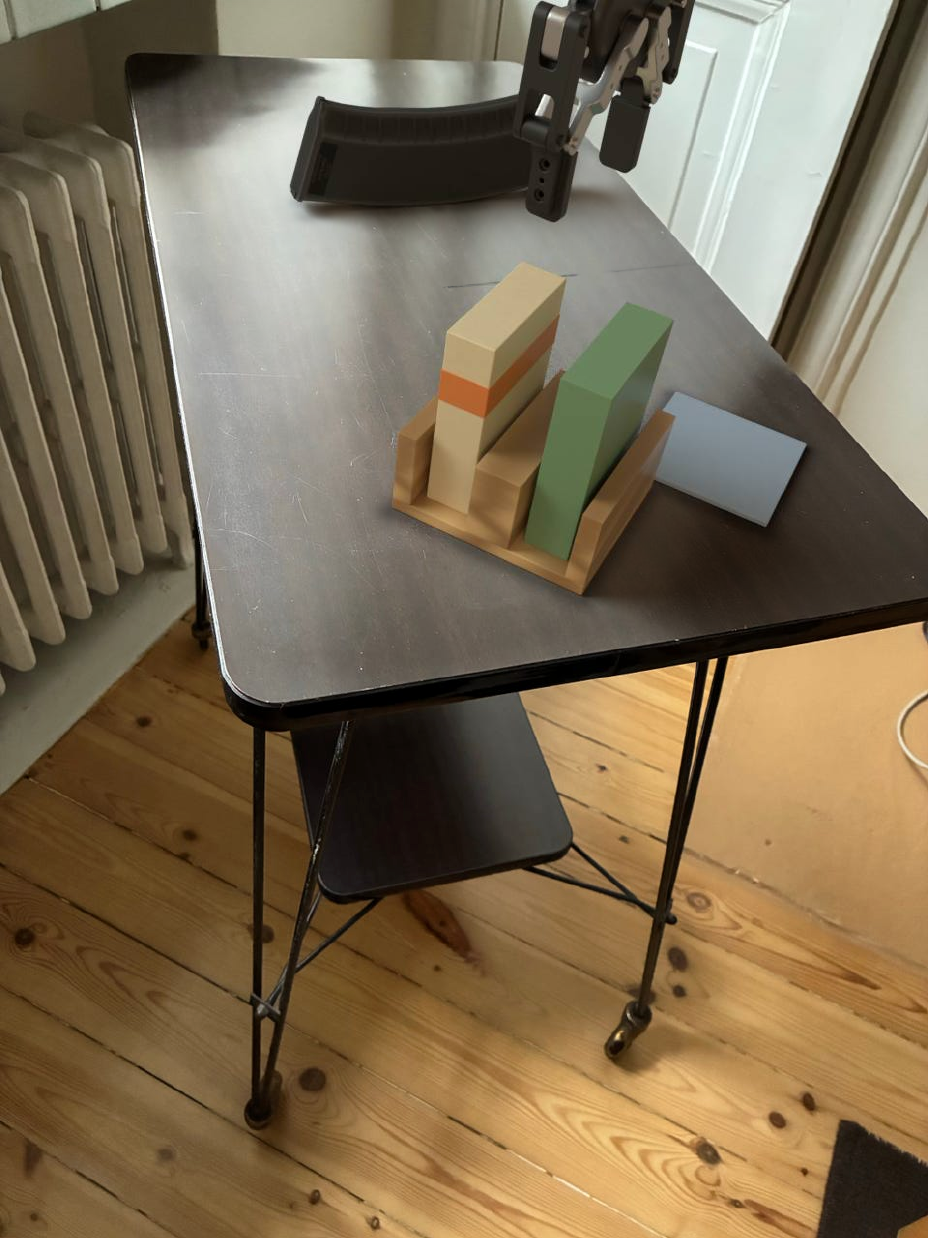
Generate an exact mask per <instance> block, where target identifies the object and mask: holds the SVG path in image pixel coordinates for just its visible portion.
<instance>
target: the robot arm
mask: <svg viewBox="0 0 928 1238" xmlns="http://www.w3.org/2000/svg"><path fill="white" fill-rule="evenodd" d="M695 3H696V0H568V1H567V5H564V6H559V5H557V4H554V3H550V2H548V1H545V0H540V1H538V2H537V4H536V6H535V7H534V10H533V13H532V16H531V22H530V27H529V33H528V39H527V45H526V50H525V56H524V60H523V61H524V62H523V66H522V71H521V72H522V73H521V78H520V84H519V90H518V92H519V94H518V93H517V94H518V100H517V106H516V111H515V117H514V123H513V129H512V132H513V135H514V136H515V137H517V138H520V139H522V140H525V141H527V142H530V143H532V144H534V146H535V147H534V153H533V159H532V165H531V170H530V176H529V182H528V188H526V189H527V190H526V195H525V200H524V205H525V209H526V211H527V212H528V213H529V214H531V215H533V216H536V217H539V218H541V219H543V220H545V221H546V222H547V221H548V222H550V223H557V222H558V221H560V220H562V219H563V218H564V217H565V216H566V214H567V211H568V205H569V201H570V198H571V197H570V196H571V191H572V187H573V182H574V176H575V172H576V166H577V161H578V157H579V148H580V146H581V144H582V142H583V140H584V137H585V135H586V133H587V131H588V128H589V126H590V124H591V122H592V119H593V118H594V116H597V115H600V114H603V113H605V112H606V111H607V109H608V112H607V116H606V121H605V126H604V131H603V135H602V139H601V144H600V149H599V152H598V153H599V154H598V159H599V162H600V164H602V166H604V167H607V168H609V169H612V170H615V171H617V172H619V173H622V174H628V173H630V172H631V171H633V170H634V169H635V168H636V167H637V165H638V162H639V157H640V153H641V149H642V147H643V146H642V145H643V142H644V137H645V133H646V129H647V125H648V122H649V117H650V113H651V109H652V106H654V105H656V104H657V102H658V101H659V99H660V98H661V96H662V92H663V88H664V87H663V86H664V84H666V85H672V84H673V83H674V82H675V81H676V79H677V77H678V75H679V70H680V66H681V61H682V57H683V53H684V49H685V45H686V41H687V36H688V33H689V28H690V24H691V20H692V15H693V10H694V8H695ZM580 80H582V82H581V81H580ZM583 81H585V82H588V83H590V84H587V83H584V82H583ZM539 92H540V93H543V94H544V96H543V98H542V100H541V102H540V105H539V107H538V109H537V111H536V113H535V110H536V105H537V100H538V94H539ZM615 92H617V93H620V94H615ZM614 94H615V95H614ZM574 105H575V106H577V108H576V110H575V112H574V113H573V110H574ZM650 105H652V106H650ZM608 107H609V108H608ZM572 114H573V115H572Z"/></svg>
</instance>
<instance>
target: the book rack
mask: <svg viewBox="0 0 928 1238" xmlns="http://www.w3.org/2000/svg"><path fill="white" fill-rule="evenodd" d="M566 372H567V370H564V369H562V368H561V369H559V370H558V371H557V372H556V373H555V375H554V376H553V377H552V378H551V380H550V381H548V383H547V384H545V385H544V387H543V390H542V391H541V392H540V393H539V394H538V395H537V397H536V398H535V399H534V400H533V401H532V402H531V403H530V405H529V406H528V407H527V408H526V409H525V410H524V411H523V413H522V414H521V415H520V416H519V417H518V418H517V419H516V421H515V422H514V423H513V424H512V425H511V426H510V427H509V429H508V430H507V431H506V432H505V433H504V434H503V435H502V437H501V438H500V439H499V440H498V441H497V442H496V443H495V445H494V446H493V447H492V448H491V449H490V450H489V451H488V453H487V454H486V455H485V456H484V457H483V458H482V459H481V461H480V462H479V463H478V464H477V465H476V466H475V471H474V477H473V483H472V489H471V495H470V501H469V507H468V513H467V515H465V514H463V513H461V512H459V511H457V510H455V509H452V508H450V507H448V506H446V505H444V504H442V503H439V502H437V501H435V500H433V499H431V498H428V497H427V491H428V483H429V475H430V466H431V458H432V450H433V442H434V433H435V425H436V417H437V409H438V400H439V399H438V393H437V394H435V396H434V397H433V398H431V400H430V401H429V402H427V404H425V406H423V407H422V408H421V409H420V410H419V411H418V412H417V413H416V414H415V415H414V417H413V418H411V420H409V421H408V422H407V423H406V425H404V426H403V427H402V428H401V429H400V430H399V431H398V433H397V446H396V458H395V470H394V479H393V481H394V482H393V492H392V503H391V508H393V509H394V510H397V511H398V512H401V513H402V514H403V513H404V514H405V515H407V516H410V517H412V518H414V519H416V520H418V521H420V522H422V523H425V524H427V525H429V526H431V527H433V528H435V529H437V530H440V531H441V532H444V533H446V534H448V535H450V536H453V537H455V538H457V539H459V540H461V541H463V542H465V543H468V544H470V545H472V546H474V547H475V548H479V549H480V550H483V551H485V552H487V553H489V554H491V555H493V556H496V557H498V558H500V559H501V560H504V561H505V562H508V563H510V564H512V565H515V566H516V567H519V568H521V569H524V570H526V571H527V572H530V573H531V574H534V575H536V576H538V577H540V578H543V579H545V580H547V581H549V582H551V583H554V584H555V585H557V586H560V587H561V588H564V589H565V590H568V591H570V592H573V593H575V594H576V595H579V596H583V593H584V592H585V590H586V589H587V587H588V586H589V584H590V583H591V581H592V580H593V578H594V577H595V575H596V573H597V572H598V570H599V569H600V567H601V566H602V564H603V563H604V561H605V559H606V558H607V556H608V555H609V553H610V551H611V550H612V549H613V547H614V546H615V544H616V542H618V540H619V538H620V537H621V535H622V533H623V532H624V531H625V529H626V527H627V526H628V524H629V522H630V521H631V519H632V518H633V516H635V514H636V512H637V510H638V509H639V507H640V506H641V504H642V503H643V501H644V500H645V499H646V497H647V495H648V493H649V491H650V490H651V489H652V487H653V484H654V481H655V480H654V478H655V475H656V473H657V470H658V467H659V464H660V461H661V458H662V455H663V452H664V449H665V447H666V444H667V441H668V438H669V435H670V432H671V429H672V426H673V423H674V421H675V418H676V416H674V415H672V414H670V413H667V412H665V411H663V409H660V408H657V409H656V410H655V411H654V413H653V414H652V415H651V417H650V418H649V420H648V421H647V422H646V423H645V425H644V427H643V429H642V430H640V432H639V433H638V436H637V438H636V440H635V441H634V442H633V444H632V445H631V447H630V448H629V450H628V451H627V452H626V454H625V455H624V457H623V458H622V459H621V461H620V462H619V464H618V465H617V467H616V468H615V469H614V471H613V472H612V474H611V475H610V476H609V478H608V479H607V481H606V482H605V484H604V485H603V486H602V488H601V489H600V491H599V492H598V493H597V495H596V496H595V498H594V499H593V500H592V502H591V503H590V505H589V506H588V508H587V509H586V510H585V512H584V513H583V515H582V519H581V522H580V526H579V529H578V533H577V536H576V540H575V543H574V547H573V550H572V554H571V556H570V557H569V559H568V560H567V561H565V560H563V559H561V558H559V557H556V556H554V555H552V554H550V553H548V552H546V551H543V550H541V549H539V548H537V547H535V546H532V545H530V544H528V543H526V542H524V541H523V540H524V536H525V531H526V527H527V523H528V518H529V514H530V510H531V505H532V501H533V497H534V492H535V488H536V483H537V479H538V475H539V470H540V466H541V462H542V457H543V453H544V449H545V444H546V440H547V436H548V431H549V427H550V423H551V418H552V414H553V410H554V405H555V401H556V397H557V392H558V388H559V383H560V379H561V377H562V376H563V375H564V374H565V373H566Z"/></svg>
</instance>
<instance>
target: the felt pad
mask: <svg viewBox="0 0 928 1238" xmlns="http://www.w3.org/2000/svg"><path fill="white" fill-rule="evenodd" d="M662 411H665V412H667V413H670V414H672V415H674V416H676V418H675V421H674V423H673V426H672V429H671V432H670V435H669V438H668V441H667V444H666V447H665V449H664V452H663V455H662V458H661V461H660V464H659V467H658V470H657V473H656V475H655V478H654V481H656V482H659V483H661V484H663V485H665V486H667V487H670V488H672V489H675V490H677V491H680V492H682V493H685V494H686V495H689V496H692V497H694V498H695V499H698V500H701V501H703V502H705V503H708V504H710V505H712V506H715V507H717V508H719V509H723V510H724V511H727V512H728V513H731V514H734V515H735V516H738V517H740V518H742V519H745V520H747V521H749V522H752V523H753V524H754V523H755V524H757V525H759V526H762V527H763V528H766V527H767V525H769V522H770V520H771V518H772V516H773V514H774V512H775V510H776V508H777V506H778V505H779V502H780V500H781V498H782V496H783V493H784V491H785V490H786V487H787V486H788V484H789V481H790V480H791V477H792V475H793V474H794V472H795V469H796V468H797V466H798V463H799V461H800V459H801V458H802V455H803V453H804V451H805V449H806V447H807V445H808V443H806V442H803V441H801V440H798V439H797V438H793V437H791V436H789V435H786V434H784V433H781V432H779V431H776V430H774V429H771V428H768V427H767V426H763V425H761V424H758V423H756V422H754V421H751V420H749V419H746V418H744V417H741V416H739V415H736V414H734V413H731V412H729V411H726V410H724V409H721V408H720V407H716V406H714V405H712V404H709V403H707V402H705V401H701V400H699V399H697V398H694V397H691V396H689V395H686V394H684V393H682V392H680V391H675V392H674V393H673V395H672V396H671V398H670V399H669V400H668V402H667V403H666V405H665V407H664V408H662Z"/></svg>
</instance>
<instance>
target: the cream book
mask: <svg viewBox="0 0 928 1238" xmlns="http://www.w3.org/2000/svg"><path fill="white" fill-rule="evenodd" d="M567 280H568V279H567V278H566V277H564V276H561V275H559V274H556V273H553V272H551V271H548V270H545V269H542V268H540V267H538V266H535V265H532V264H530V263H527V262H524V261H521V262H520V263H519V264H518V265H517V266H516V267H515V268H514V269H513V270H512V271H510V272H509V274H507V275H506V276H505V277H504V278H503V279H502V280H501V281H500V282H499V283H497V285H495V286H494V287H493V288H492V289H491V290H490V291H489V292H488V293H487V294H485V296H483V297H482V298H481V299H480V300H479V301H478V302H477V303H476V304H475V305H474V306H473V307H472V308H470V309H469V310H468V311H467V312H466V313H465V314H464V315H463V316H462V317H461V318H460V319H459V320H457V321H456V322H455V323H454V324H453V325H452V326H450V328H449V329H448V330H446V336H445V342H444V343H445V344H444V352H443V360H442V367H441V369H440V374H439V375H440V377H439V382H438V383H439V384H438V391H437V394H438V399H439V400H438V409H437V417H436V425H435V433H434V442H433V450H432V458H431V466H430V475H429V483H428V491H427V497H428V498H431V499H433V500H435V501H437V502H439V503H442V504H444V505H446V506H448V507H450V508H452V509H455V510H457V511H459V512H461V513H463V514H465V515H467V513H468V507H469V501H470V495H471V489H472V483H473V477H474V471H475V466H476V465H477V464H478V463H479V462H480V461H481V459H482V458H483V457H484V456H485V455H486V454H487V453H488V451H489V450H490V449H491V448H492V447H493V446H494V445H495V443H496V442H497V441H498V440H499V439H500V438H501V437H502V435H503V434H504V433H505V432H506V431H507V430H508V429H509V427H510V426H511V425H512V424H513V423H514V422H515V421H516V419H517V418H518V417H519V416H520V415H521V414H522V413H523V411H524V410H525V409H526V408H527V407H528V406H529V405H530V403H531V402H532V401H533V400H534V399H535V398H536V397H537V395H538V394H539V393H540V392H541V391H542V390H543V389H544V387H545V382H546V377H547V373H548V367H549V363H550V358H551V354H552V350H553V345H554V343H555V339H556V335H557V331H558V326H559V321H560V316H561V314H560V312H561V307H562V303H563V298H564V293H565V289H566V286H567V285H566V284H567Z"/></svg>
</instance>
